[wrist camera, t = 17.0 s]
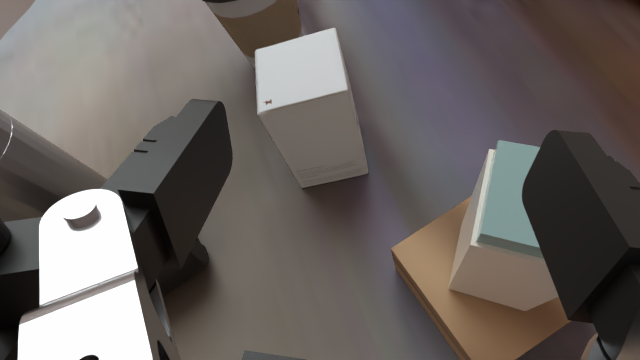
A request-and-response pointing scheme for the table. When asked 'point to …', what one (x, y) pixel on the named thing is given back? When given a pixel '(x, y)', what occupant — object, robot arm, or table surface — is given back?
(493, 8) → the table surface
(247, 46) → the coffee cup
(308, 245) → the table surface
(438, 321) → the oak box
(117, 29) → the table surface
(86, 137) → the table surface
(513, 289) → the cream carton
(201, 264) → the end cap
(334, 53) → the supplement box
